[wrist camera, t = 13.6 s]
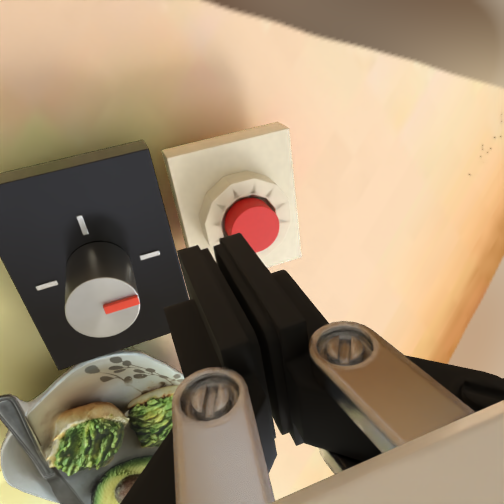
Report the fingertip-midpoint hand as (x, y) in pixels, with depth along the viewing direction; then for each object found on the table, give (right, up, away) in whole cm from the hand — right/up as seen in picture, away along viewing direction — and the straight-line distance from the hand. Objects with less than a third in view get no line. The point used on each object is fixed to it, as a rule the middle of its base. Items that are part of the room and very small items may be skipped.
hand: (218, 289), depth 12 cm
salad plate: (-12, -16, +30) cm, 36 cm away
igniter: (-1, +5, +24) cm, 24 cm away
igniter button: (+1, +3, +21) cm, 21 cm away
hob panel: (-11, +1, +22) cm, 24 cm away
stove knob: (-10, 0, +20) cm, 22 cm away
